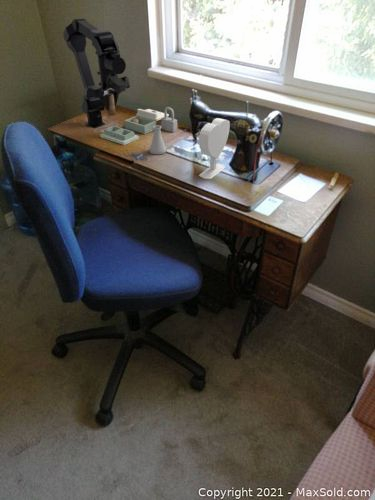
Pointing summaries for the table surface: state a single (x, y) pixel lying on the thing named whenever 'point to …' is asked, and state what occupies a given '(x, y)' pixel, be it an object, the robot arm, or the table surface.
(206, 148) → the heart sculpture
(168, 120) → the padlock
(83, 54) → the robot arm
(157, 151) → the flask
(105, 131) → the build board
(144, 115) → the cover
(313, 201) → the table surface
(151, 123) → the box
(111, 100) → the dowel
